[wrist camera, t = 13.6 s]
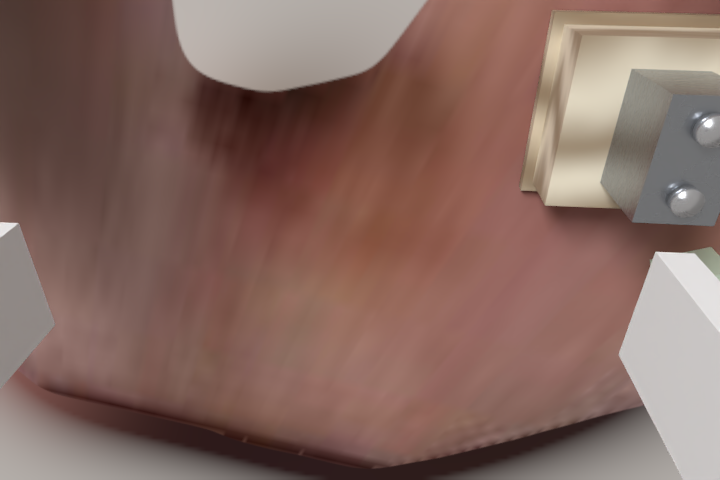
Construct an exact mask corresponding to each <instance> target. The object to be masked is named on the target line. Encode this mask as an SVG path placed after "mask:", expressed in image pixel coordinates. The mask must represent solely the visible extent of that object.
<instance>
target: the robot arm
mask: <svg viewBox="0 0 720 480" xmlns="http://www.w3.org/2000/svg"><path fill="white" fill-rule="evenodd" d="M54 326H55V322H54V319H53V317H52V314H51V311H50V308H49V306H48V303H47V300H46V297H45V294H44V292H43V289H42V286H41V283H40V281H39V278H38V275H37V272H36V270H35V267H34V264H33V261H32V259H31V256H30V253H29V250H28V247H27V245H26V242H25V239H24V236H23V234H22V231H21V228H20V225H19V223H3V222H0V389H1V388H2V386H3V385H4V384H5V383H6V382H7V381H8V379H9V378H10V377H11V376H12V375H13V373H14V372H15V371H16V370H17V369H18V368H19V367H20V365H21V364H22V363H23V362H24V361H25V360H26V358H27V357H28V356H29V355H30V354H31V353H32V351H33V350H34V349H35V348H36V347H37V346H38V344H39V343H40V342H41V341H42V340H43V339H44V337H45V336H46V335H47V334H48V333H49V332H50V330H51V329H52V328H53V327H54ZM619 356H620V358H621V360H622V362H623V364H624V366H625V368H626V370H627V372H628V374H629V376H630V378H631V380H632V382H633V384H634V386H635V388H636V389H637V391H638V393H639V395H640V397H641V399H642V401H643V403H644V405H645V407H646V409H647V411H648V413H649V415H650V417H651V419H652V421H653V423H654V424H655V426H656V428H657V430H658V432H659V434H660V436H661V438H662V440H663V442H664V444H665V446H666V448H667V450H668V452H669V454H670V456H671V457H672V459H673V461H674V463H675V465H676V467H677V469H678V471H679V473H680V475H681V477H682V479H683V480H720V281H719V280H718V279H717V277H716V276H715V275H714V274H713V273H712V272H711V271H710V270H709V269H708V268H707V266H706V265H705V264H704V263H703V262H702V261H701V260H700V259H699V258H698V256H697V255H696V254H695V253H673V252H655V255H654V257H653V260H652V263H651V266H650V268H649V271H648V274H647V277H646V280H645V282H644V285H643V288H642V291H641V294H640V296H639V299H638V302H637V305H636V308H635V310H634V313H633V316H632V319H631V321H630V324H629V327H628V330H627V333H626V335H625V338H624V341H623V344H622V347H621V349H620V352H619Z"/></svg>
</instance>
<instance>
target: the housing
mask: <svg viewBox="0 0 720 480" xmlns="http://www.w3.org/2000/svg"><path fill="white" fill-rule="evenodd" d="M600 183H601V184H602V185H603V186H604V188H605V189H606V190H607V192H608V193H609V194H610V195H611V197H612V198H613V199H614V200H615V202H616V203H617V204H618V206H619V207H620V208H621V209H622V211H623V212H624V213H625V214H626V216H627V217H628V218H629V219H630V221H631V222H635V223H657V224H678V225H700V226H714V225H715V222H716V220H717V218H718V215H719V213H720V75H718V74H716V73H714V72H712V71H687V70H658V69H631V73H630V76H629V80H628V84H627V87H626V91H625V94H624V98H623V102H622V105H621V109H620V112H619V116H618V120H617V123H616V127H615V130H614V134H613V138H612V141H611V145H610V148H609V152H608V156H607V159H606V163H605V166H604V170H603V174H602V177H601V181H600Z"/></svg>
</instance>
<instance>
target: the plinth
mask: <svg viewBox="0 0 720 480" xmlns="http://www.w3.org/2000/svg"><path fill="white" fill-rule="evenodd" d="M631 69H658V70H687V71H712V72H714V73H716V74H718V75H720V14H689V13H650V12H610V11H571V10H552V13H551V18H550V24H549V29H548V34H547V40H546V45H545V50H544V56H543V61H542V66H541V72H540V77H539V82H538V88H537V93H536V98H535V104H534V109H533V114H532V120H531V125H530V130H529V136H528V141H527V146H526V152H525V157H524V162H523V168H522V173H521V178H520V184H519V187H520V190H521V191H538V193H539V195H540V197H541V199H542V201H543V203H544V205H545V206H569V207H593V208H617V209H621V208H620V207H619V206H618V204H617V203H616V202H615V200H614V199H613V198H612V197H611V195H610V194H609V193H608V192H607V190H606V189H605V188H604V186H603V185H602V184H601V183H600V181H601V177H602V174H603V170H604V166H605V163H606V159H607V156H608V152H609V148H610V145H611V141H612V138H613V134H614V130H615V127H616V123H617V120H618V116H619V112H620V109H621V105H622V102H623V98H624V94H625V91H626V87H627V84H628V80H629V76H630V73H631Z"/></svg>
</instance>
